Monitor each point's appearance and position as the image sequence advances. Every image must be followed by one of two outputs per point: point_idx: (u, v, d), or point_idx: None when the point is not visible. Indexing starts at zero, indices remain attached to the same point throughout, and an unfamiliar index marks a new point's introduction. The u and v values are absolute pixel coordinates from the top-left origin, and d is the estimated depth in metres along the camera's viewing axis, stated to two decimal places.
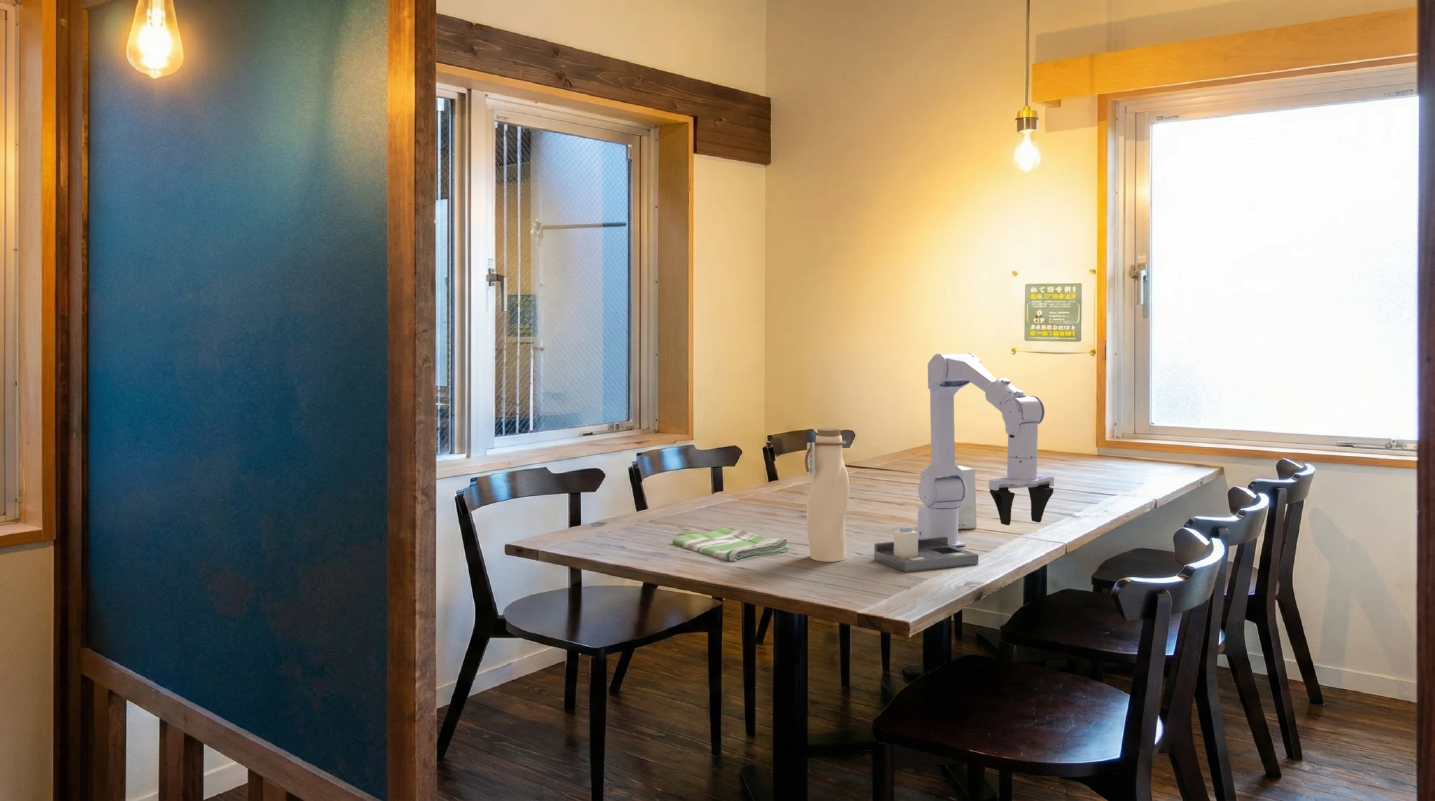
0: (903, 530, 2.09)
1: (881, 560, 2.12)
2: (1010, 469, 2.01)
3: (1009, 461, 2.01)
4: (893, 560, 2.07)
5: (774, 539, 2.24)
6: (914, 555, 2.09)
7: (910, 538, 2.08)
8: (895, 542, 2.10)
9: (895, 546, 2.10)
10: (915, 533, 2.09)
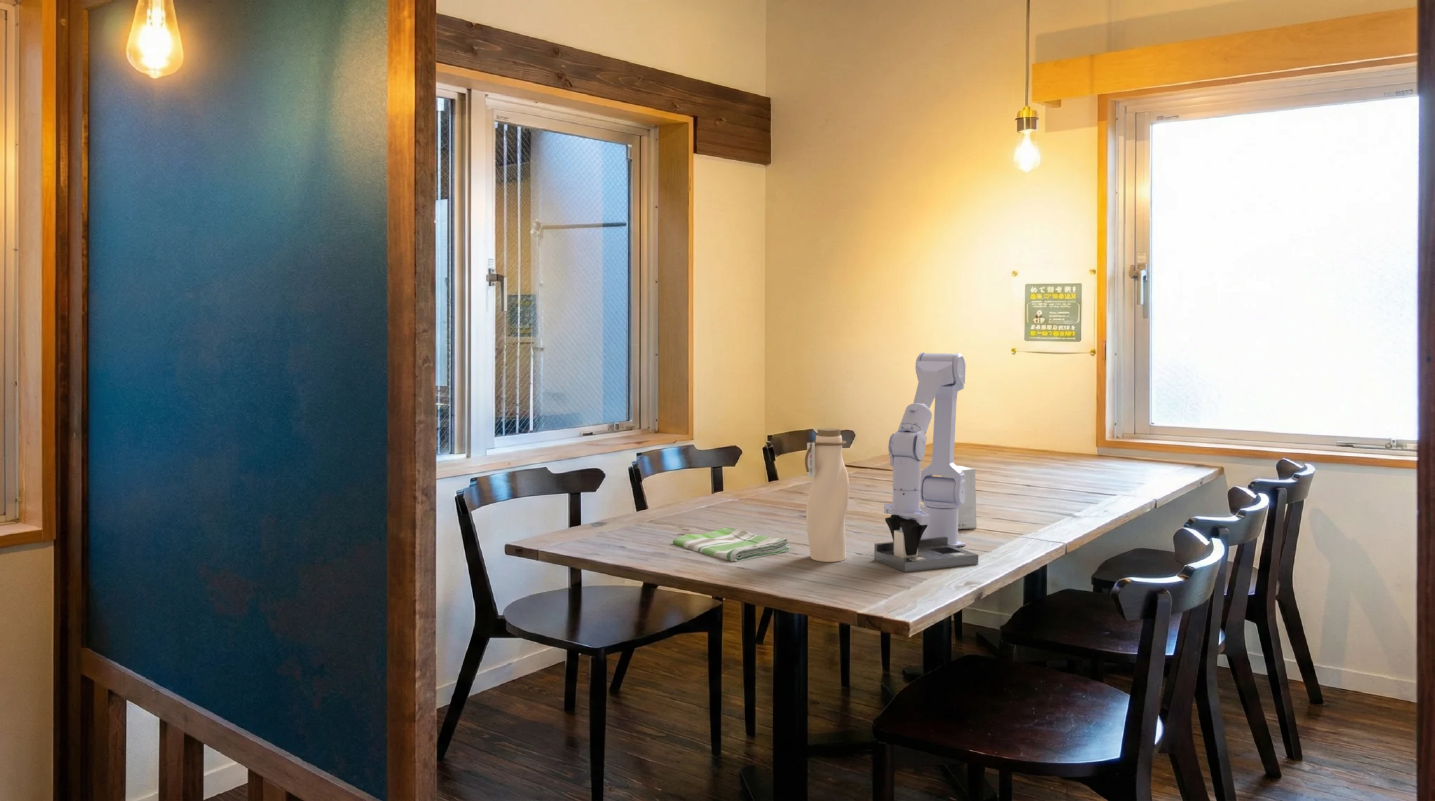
0: None
1: (881, 560, 2.12)
2: None
3: None
4: (893, 560, 2.07)
5: (774, 539, 2.24)
6: (914, 555, 2.09)
7: None
8: (895, 542, 2.10)
9: (895, 546, 2.10)
10: None
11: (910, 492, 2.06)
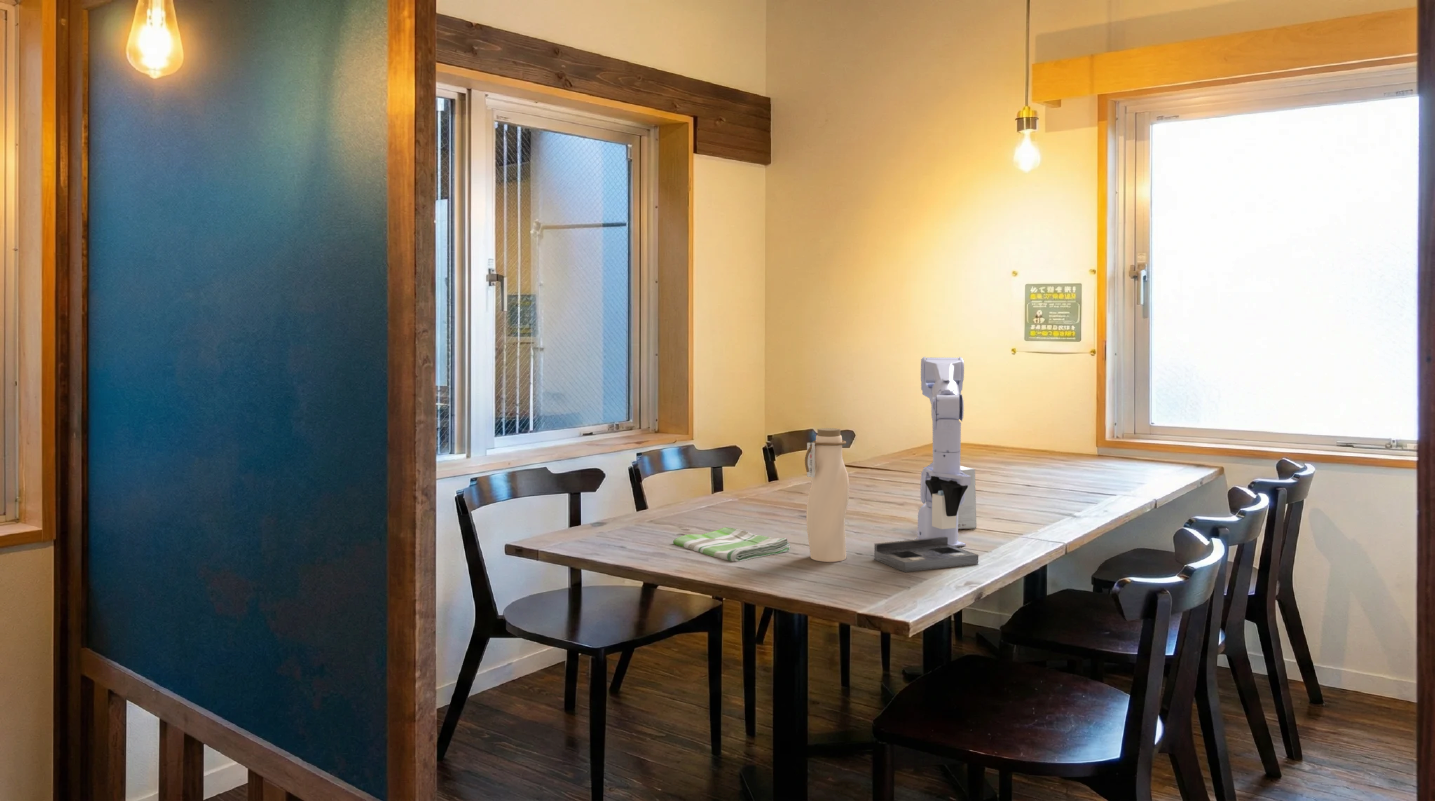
0: (941, 493, 2.12)
1: (881, 560, 2.12)
2: None
3: None
4: (893, 560, 2.07)
5: (775, 539, 2.24)
6: (952, 518, 2.12)
7: None
8: (933, 505, 2.13)
9: (933, 509, 2.13)
10: None
11: (951, 454, 2.09)
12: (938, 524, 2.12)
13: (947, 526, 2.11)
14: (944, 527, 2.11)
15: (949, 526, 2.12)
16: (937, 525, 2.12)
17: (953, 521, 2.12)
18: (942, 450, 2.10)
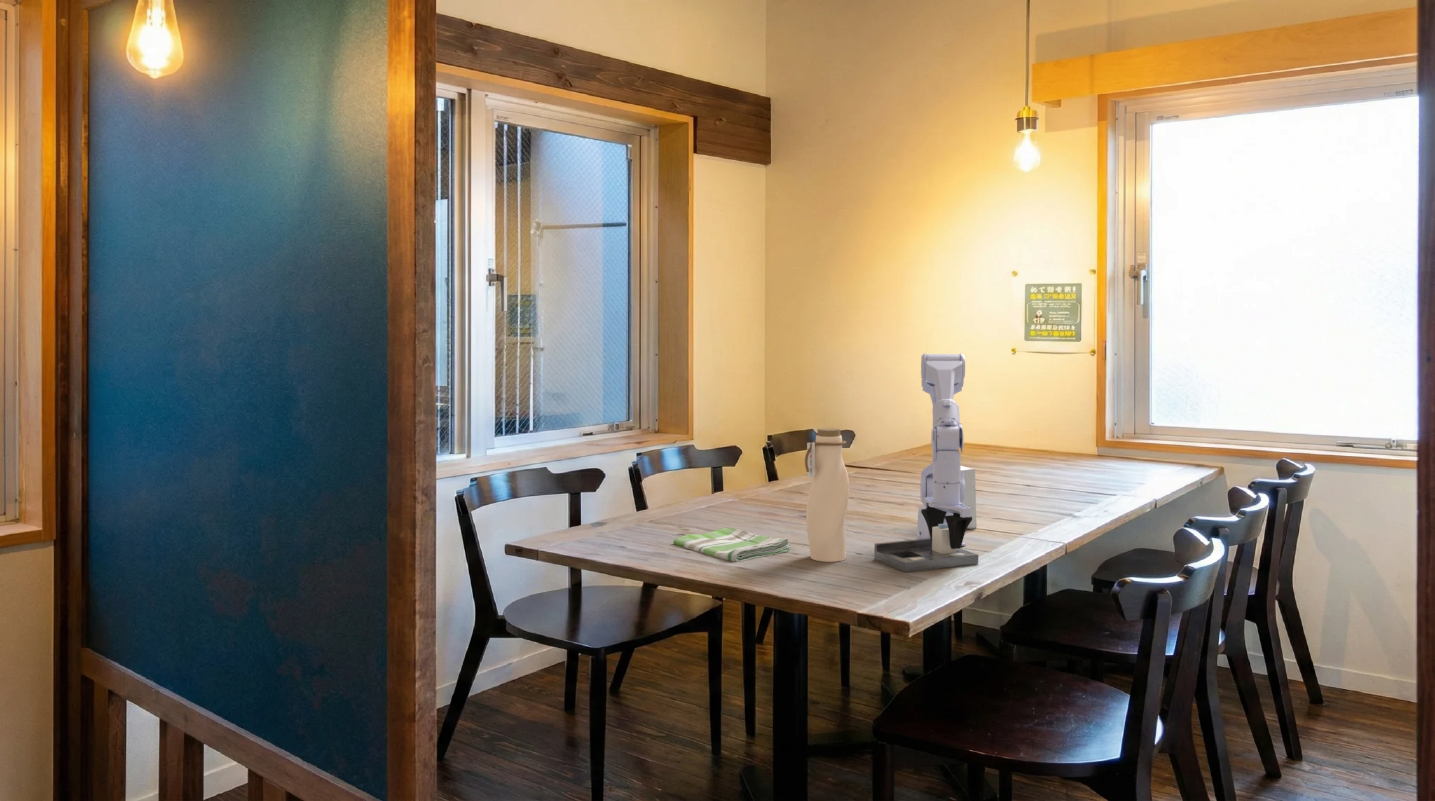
0: (941, 526, 2.12)
1: (881, 560, 2.12)
2: None
3: None
4: (893, 560, 2.07)
5: (775, 539, 2.24)
6: (952, 551, 2.12)
7: (948, 535, 2.12)
8: (933, 538, 2.14)
9: (933, 542, 2.14)
10: None
11: (951, 485, 2.10)
12: None
13: None
14: None
15: None
16: None
17: None
18: (942, 481, 2.10)
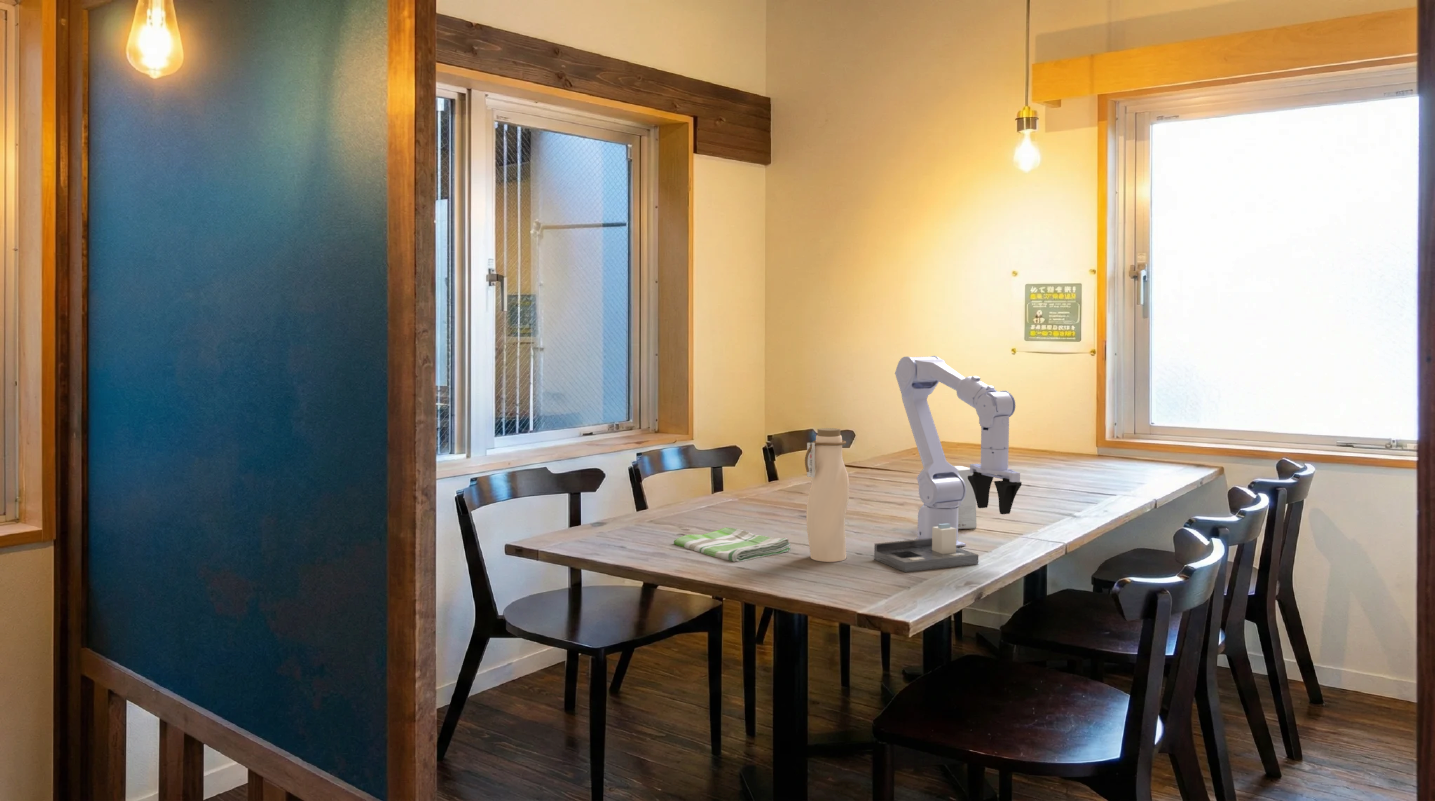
0: (941, 526, 2.12)
1: (881, 560, 2.12)
2: None
3: None
4: (893, 560, 2.07)
5: (776, 539, 2.24)
6: (952, 551, 2.12)
7: (948, 535, 2.12)
8: (933, 538, 2.14)
9: (933, 542, 2.14)
10: (953, 529, 2.12)
11: (999, 450, 2.10)
12: None
13: None
14: None
15: None
16: None
17: None
18: (1000, 447, 2.10)
